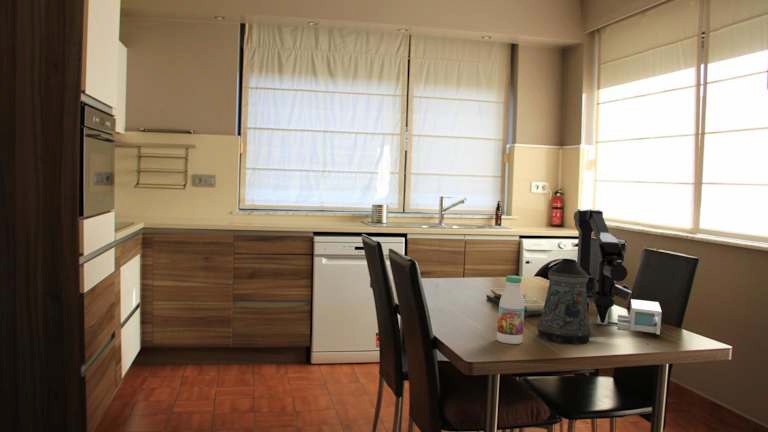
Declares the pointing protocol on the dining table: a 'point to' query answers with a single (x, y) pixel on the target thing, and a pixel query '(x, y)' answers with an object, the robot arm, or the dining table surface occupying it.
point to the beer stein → (566, 306)
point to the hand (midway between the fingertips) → (602, 321)
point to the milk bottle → (511, 312)
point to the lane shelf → (645, 307)
